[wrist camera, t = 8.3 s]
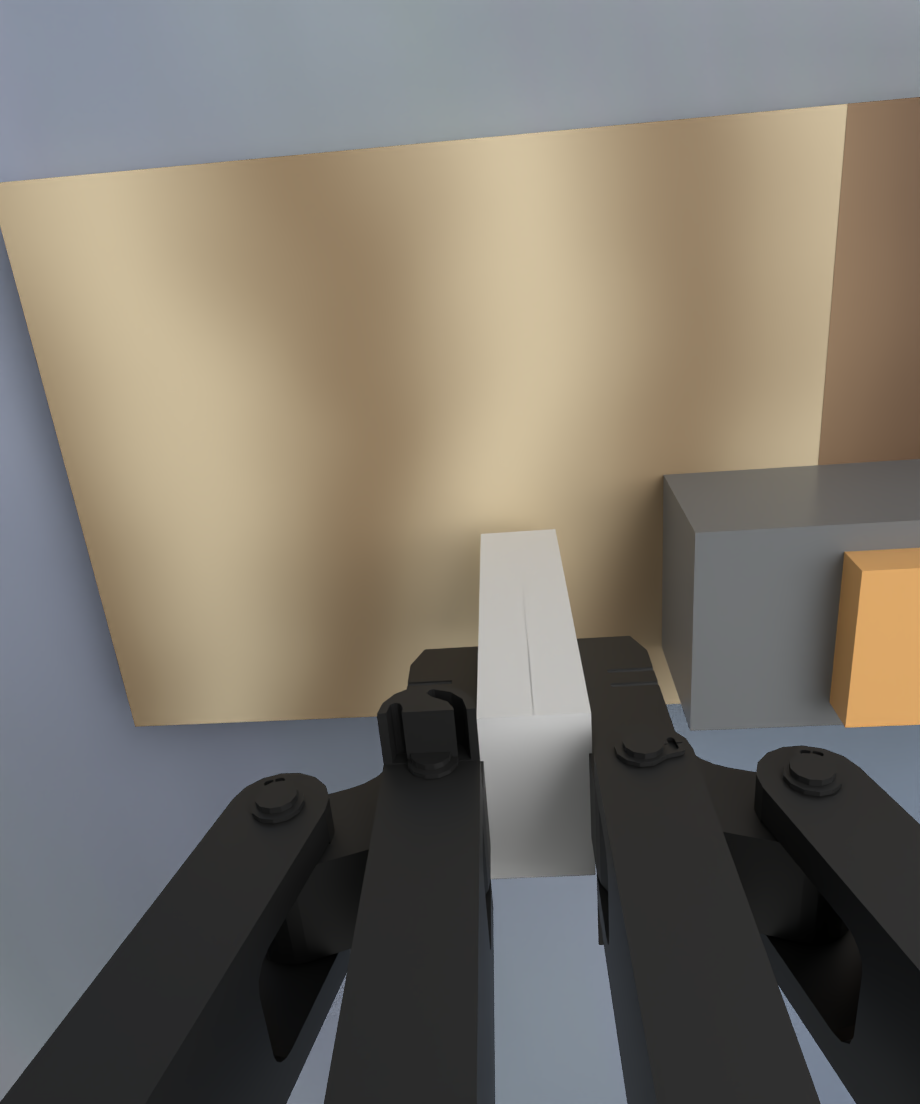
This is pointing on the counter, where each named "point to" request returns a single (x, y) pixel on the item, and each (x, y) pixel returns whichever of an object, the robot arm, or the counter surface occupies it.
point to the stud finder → (794, 595)
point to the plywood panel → (450, 377)
